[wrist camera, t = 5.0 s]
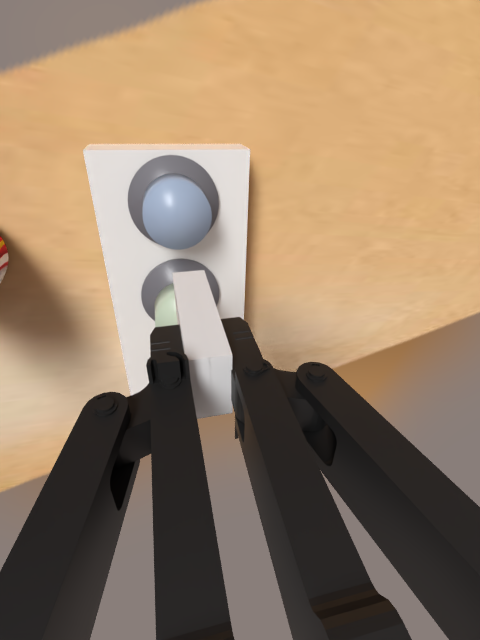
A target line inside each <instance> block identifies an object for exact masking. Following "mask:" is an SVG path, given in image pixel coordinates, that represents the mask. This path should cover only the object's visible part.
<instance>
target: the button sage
mask: <svg viewBox="0 0 480 640" xmlns="http://www.w3.org/2000/svg"><path fill="white" fill-rule="evenodd" d="M170 325H178V323H177V314H176V304H175V294H174V284H173V283H172V284H170V285H168V286H166V287H165V288H163V289H162V290H161V291H160V293H159V294H158V296H157V298H156V300H155V327H162V326H170Z"/></svg>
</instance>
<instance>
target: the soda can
mask: <svg viewBox="0 0 480 640" xmlns="http://www.w3.org/2000/svg"><path fill="white" fill-rule="evenodd" d="M8 260H9V258H8V251H7V248H6V245H5V243H4V241H3V239H2V238H1V236H0V284H1V282H2V280H3V277H4V275H5V273H6V271H7V267H8Z"/></svg>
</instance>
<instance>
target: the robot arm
mask: <svg viewBox="0 0 480 640" xmlns="http://www.w3.org/2000/svg"><path fill="white" fill-rule="evenodd" d="M172 274H173V284H174V294H175V304H176V314H177V323H178V325H170V326H162V327H155V328H154V330H153V331H152V333H151V334H150V351H151V352H150V355H151V357H150V358H149V359H148V360H147V364H146V367H147V373H148V379H149V384H148V385H147V386H146V387H145V388H144V389H143V390H141V391H140V392H138V393H136V394H134V395H131V396H129V397H125V396H124V395H122V394H120V393H116V392H107V393H102V394H100V395H97V396H95V397H93V398H92V399H91V400H89V401H88V402H87V403H86V405H85V406H84V407H83V409H82V411H81V413H80V415H79V417H78V419H77V421H76V423H75V425H74V427H73V429H72V431H71V433H70V435H69V437H68V439H67V441H66V443H65V445H64V447H63V449H62V451H61V453H60V455H59V457H58V459H57V461H56V463H55V465H54V467H53V469H52V471H51V473H50V475H49V477H48V479H47V481H46V482H45V484H44V486H43V488H42V490H41V492H40V495H39V497H38V498H37V500H36V502H35V504H34V506H33V508H32V510H31V512H30V514H29V516H28V518H27V520H26V522H25V524H24V526H23V528H22V530H21V532H20V534H19V536H18V538H17V540H16V542H15V544H14V546H13V548H12V550H11V552H10V554H9V556H8V558H7V559H6V562H5V563H4V565H3V567H2V569H1V571H0V640H90V637H91V633H92V630H93V626H94V623H95V619H96V616H97V612H98V608H99V605H100V601H101V598H102V594H103V591H104V587H105V584H106V580H107V577H108V573H109V570H110V566H111V562H112V559H113V555H114V552H115V548H116V545H117V541H118V538H119V534H120V531H121V527H122V523H123V520H124V516H125V513H126V509H127V506H128V502H129V499H130V495H131V492H132V488H133V485H134V481H135V478H136V474H137V470H138V467H139V463H140V459H141V458H143V457H145V456H147V455H149V454H151V457H152V458H151V460H152V496H153V497H152V498H153V535H154V572H155V610H156V611H155V612H156V640H234V637H233V632H232V627H231V621H230V615H229V609H228V603H227V597H226V591H225V585H224V579H223V574H222V567H221V561H220V555H219V549H218V543H217V537H216V531H215V526H214V519H213V513H212V507H211V501H210V495H209V489H208V483H207V477H206V471H205V465H204V459H203V453H202V446H201V440H200V435H199V428H198V423H197V419H199V418H205V417H211V416H217V415H223V414H229V413H232V404H233V408H234V411H235V439H237V438H238V437H239V441H240V444H241V448H242V452H243V455H244V459H245V463H246V467H247V470H248V474H249V477H250V481H251V485H252V489H253V492H254V496H255V500H256V504H257V507H258V511H259V515H260V519H261V522H262V526H263V530H264V533H265V537H266V541H267V544H268V548H269V552H270V556H271V559H272V563H273V567H274V571H275V574H276V578H277V581H278V585H279V589H280V593H281V596H282V600H283V604H284V608H285V611H286V615H287V619H288V623H289V626H290V630H291V634H292V638H293V640H412V639H411V637H410V635H409V633H408V631H407V629H406V627H405V625H404V623H403V621H402V619H401V618H400V616H399V614H398V612H397V610H396V609H395V607H394V606H393V605H392V604H391V602H390V601H389V600H388V599H386V598H385V597H383V596H381V595H380V594H379V593H378V592H377V591H376V589H375V588H374V586H373V584H372V582H371V580H370V578H369V576H368V574H367V572H366V569H365V567H364V565H363V563H362V560H361V558H360V556H359V554H358V552H357V550H356V547H355V545H354V543H353V541H352V539H351V537H350V534H349V532H348V530H347V528H346V526H345V523H344V521H343V519H342V517H341V515H340V512H339V510H338V508H337V506H336V504H335V502H334V499H333V497H332V495H331V493H330V491H329V489H328V486H327V484H326V482H325V480H324V478H323V475H322V473H323V474H324V475H325V477H326V478H327V479H328V481H329V482H330V483H331V485H332V486H333V487H334V489H335V490H336V491H337V493H338V494H339V495H340V497H341V498H342V499H343V501H344V502H345V503H346V504H347V506H348V507H349V508H350V510H351V511H352V512H353V514H354V515H355V516H356V518H357V519H358V520H359V522H360V523H361V524H362V525H363V527H364V528H365V529H366V531H367V532H368V533H369V535H370V536H371V537H372V539H373V540H374V541H375V543H376V544H377V545H378V547H379V548H380V549H381V551H382V552H383V553H384V554H385V556H386V557H387V558H388V559H389V561H390V562H391V564H392V565H393V566H394V568H395V569H396V570H397V572H398V573H399V574H400V575H401V577H402V578H403V579H404V581H405V582H406V583H407V585H408V586H409V587H410V589H411V590H412V591H413V593H414V594H415V595H416V597H417V598H418V599H419V601H420V602H421V603H422V605H423V606H424V607H425V609H426V610H427V611H428V612H429V614H430V615H431V616H432V618H433V619H434V620H435V622H436V623H437V624H438V626H439V627H440V628H441V630H442V631H443V632H444V634H445V635H446V636H447V637H448V638H449V640H480V507H479V506H478V505H477V504H476V503H475V502H473V500H471V499H470V498H469V497H468V496H467V495H466V494H465V493H464V492H463V491H462V490H461V489H460V488H458V487H457V486H456V485H455V484H454V483H453V482H452V481H451V480H450V479H449V478H448V477H447V476H446V475H445V474H444V473H442V472H441V471H440V470H439V469H438V468H437V467H436V466H435V465H434V464H433V463H432V462H431V461H430V460H429V459H428V458H426V457H425V456H424V455H423V454H422V453H421V452H420V451H419V450H418V449H417V448H416V447H415V446H414V445H413V444H412V443H410V442H409V441H408V440H407V439H406V438H405V437H404V436H403V435H402V434H401V433H400V432H399V431H398V430H397V429H395V428H394V427H393V426H392V425H391V424H390V423H389V422H388V421H387V420H386V419H385V418H384V417H383V416H382V415H380V414H379V413H378V412H377V411H376V410H375V409H374V408H373V407H372V406H371V405H370V404H369V403H368V402H367V401H366V400H364V399H363V398H362V397H361V396H360V395H359V394H358V393H357V392H356V391H355V390H354V389H353V388H352V387H350V385H348V384H347V383H346V382H345V381H344V380H343V379H342V378H341V377H340V376H339V375H338V374H337V373H336V372H334V371H333V370H332V369H331V368H330V367H328V366H327V365H324V364H322V363H318V362H308V363H304V364H302V365H301V366H299V368H298V369H297V372H288V371H281V370H277V369H274V368H273V366H272V365H271V364H270V363H269V362H268V361H266V360H264V359H263V357H262V355H261V353H260V350H259V348H258V346H257V344H256V341H255V339H254V338H253V334H252V332H251V330H250V328H249V325H248V323H247V322H246V321H244V320H243V319H242V318H241V317H233V318H225V319H220V316H219V313H218V310H217V307H216V304H215V301H214V298H213V295H212V292H211V289H210V286H209V283H208V280H207V277H206V274H205V271H204V270H198V271H187V272H175V273H172ZM320 470H321V471H322V473H321V471H320Z"/></svg>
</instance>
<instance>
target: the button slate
mask: <svg viewBox="0 0 480 640" xmlns="http://www.w3.org/2000/svg"><path fill="white" fill-rule="evenodd" d="M211 221H212V212H211V207H210V204H209V202H208V200H207V198H206V196H205V195H204V193H203V191H202V189H201V188H200V186H199V185H198V184H197V183H196V182H195V181H194V180H192V179H191V178H189V177H187V176H185V175H182V174H177V173H170V174H164V175H162V176H159V177H158V178H156V179H155V180H153V181H152V182H151V183H150V184H149V186H148V187H147V189H146V191H145V193H144V197H143V223H144V226H145V228H146V230H147V232H148V234H149V235H150V236H151V238H152V239H153V240H154V241H155V242H157V243H158V244H160V245H162V246H164V247H166V248H169V249H175V250H181V249H187V248H190V247H193V246H194V245H196V244H198V243H199V242H200V241H201V240H202V239H203V238H204V237H205V236H206V234H207V233H208V231H209V229H210V225H211Z"/></svg>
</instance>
